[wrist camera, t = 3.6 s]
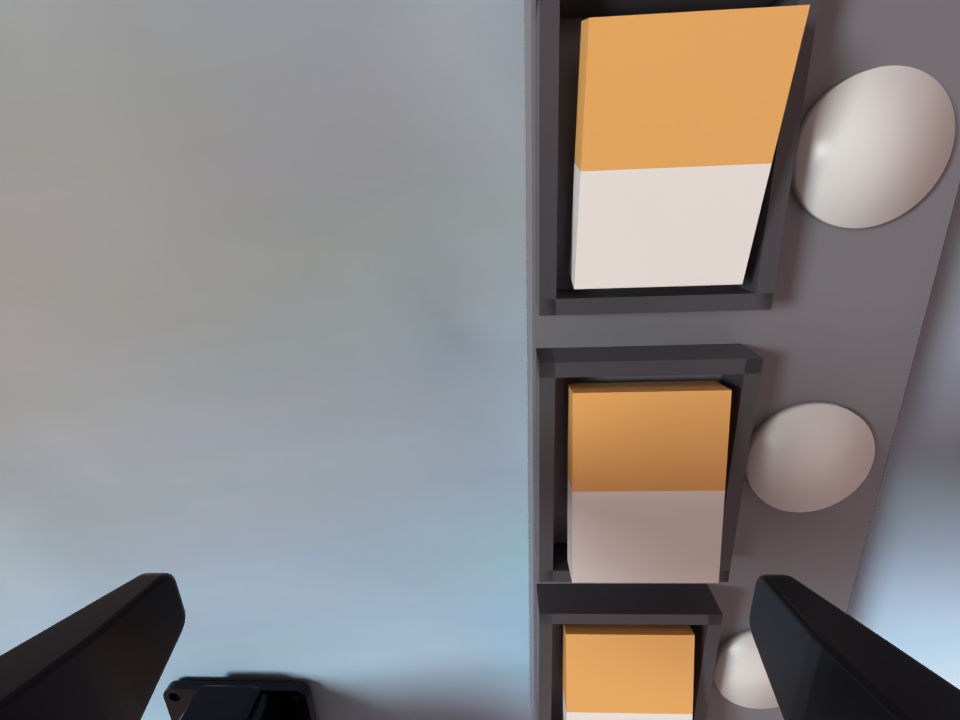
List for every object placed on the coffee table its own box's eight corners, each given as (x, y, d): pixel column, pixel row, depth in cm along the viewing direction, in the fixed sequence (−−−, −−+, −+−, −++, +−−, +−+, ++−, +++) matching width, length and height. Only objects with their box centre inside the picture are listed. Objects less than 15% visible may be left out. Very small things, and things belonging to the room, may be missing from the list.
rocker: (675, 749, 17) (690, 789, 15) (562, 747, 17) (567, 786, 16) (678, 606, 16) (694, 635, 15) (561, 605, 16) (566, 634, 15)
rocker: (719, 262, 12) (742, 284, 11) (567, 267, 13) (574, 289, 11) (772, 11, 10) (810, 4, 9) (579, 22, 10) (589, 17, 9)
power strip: (755, 737, 22) (811, 857, 18) (530, 732, 23) (536, 848, 19) (919, -58, 13) (1112, -171, 9) (524, -32, 13) (533, -127, 9)
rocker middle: (697, 552, 14) (718, 583, 13) (565, 552, 15) (571, 582, 13) (708, 377, 13) (731, 390, 12) (565, 379, 14) (572, 393, 12)
